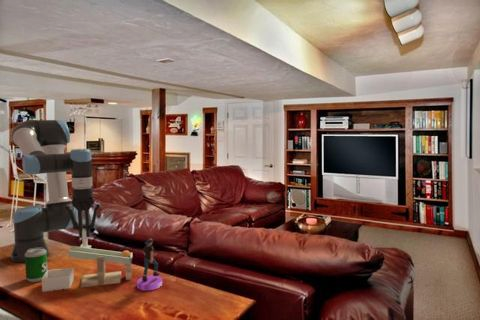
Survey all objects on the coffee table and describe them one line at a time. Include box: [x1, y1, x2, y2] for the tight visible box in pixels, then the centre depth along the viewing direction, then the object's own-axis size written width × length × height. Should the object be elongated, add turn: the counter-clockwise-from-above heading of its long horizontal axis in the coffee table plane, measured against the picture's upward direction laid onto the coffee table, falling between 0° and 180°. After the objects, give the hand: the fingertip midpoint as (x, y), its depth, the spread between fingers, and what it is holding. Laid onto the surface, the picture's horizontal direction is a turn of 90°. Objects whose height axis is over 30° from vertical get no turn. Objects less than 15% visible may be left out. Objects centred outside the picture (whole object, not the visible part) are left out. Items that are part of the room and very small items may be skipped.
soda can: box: [24, 247, 49, 283], centre depth 141 cm, size 8×8×12 cm
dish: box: [41, 267, 75, 293], centre depth 135 cm, size 8×9×5 cm
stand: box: [80, 256, 132, 288], centre depth 139 cm, size 8×18×11 cm, turn 106°
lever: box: [67, 243, 133, 266], centre depth 143 cm, size 14×23×3 cm, turn 106°
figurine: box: [136, 237, 163, 291], centre depth 135 cm, size 9×9×18 cm
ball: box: [121, 250, 131, 258], centre depth 141 cm, size 4×4×4 cm
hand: (85, 245), depth 144 cm, fingers closed
